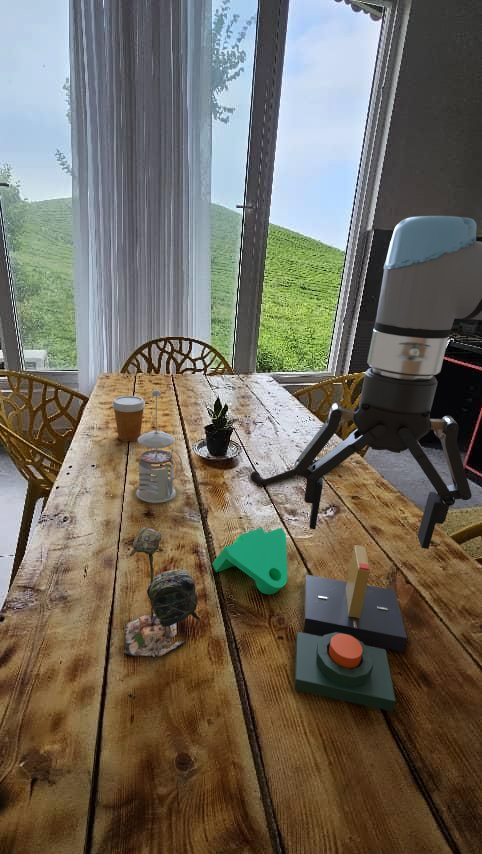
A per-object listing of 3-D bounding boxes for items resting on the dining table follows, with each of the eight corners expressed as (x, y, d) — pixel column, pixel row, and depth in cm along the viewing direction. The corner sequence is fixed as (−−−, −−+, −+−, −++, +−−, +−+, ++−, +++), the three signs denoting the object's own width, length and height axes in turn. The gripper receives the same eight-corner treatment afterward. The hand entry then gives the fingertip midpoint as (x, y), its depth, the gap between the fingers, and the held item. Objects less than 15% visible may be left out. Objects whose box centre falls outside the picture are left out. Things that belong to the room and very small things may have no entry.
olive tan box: (345, 589, 71) (354, 543, 67) (355, 591, 70) (365, 545, 67) (348, 616, 65) (358, 568, 62) (359, 618, 65) (370, 570, 62)
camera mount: (207, 560, 79) (234, 616, 74) (222, 540, 73) (251, 599, 68) (261, 541, 84) (289, 592, 79) (278, 522, 79) (309, 575, 74)
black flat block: (391, 604, 72) (395, 588, 71) (402, 654, 63) (407, 637, 62) (303, 588, 75) (306, 573, 74) (302, 634, 66) (305, 617, 65)
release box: (382, 660, 62) (388, 639, 60) (392, 713, 55) (399, 690, 53) (295, 643, 64) (298, 621, 63) (293, 691, 57) (297, 668, 55)
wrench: (248, 484, 112) (334, 455, 126) (260, 494, 108) (347, 463, 122) (249, 466, 110) (336, 439, 123) (261, 476, 106) (350, 447, 120)
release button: (358, 646, 59) (361, 636, 59) (361, 671, 56) (364, 661, 55) (328, 640, 60) (330, 630, 60) (329, 664, 57) (331, 654, 56)
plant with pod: (200, 662, 60) (207, 539, 53) (117, 659, 60) (112, 535, 53) (201, 617, 68) (207, 504, 61) (127, 614, 68) (124, 500, 60)
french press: (154, 480, 109) (154, 381, 100) (192, 495, 103) (195, 391, 93) (125, 495, 101) (122, 390, 92) (164, 512, 95) (166, 401, 86)
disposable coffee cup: (136, 446, 127) (136, 407, 123) (107, 441, 130) (105, 402, 126) (150, 435, 136) (150, 397, 131) (122, 430, 139) (121, 393, 134)
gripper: (286, 367, 48) (266, 531, 56) (543, 393, 43) (482, 569, 51) (290, 354, 55) (272, 502, 63) (513, 375, 50) (463, 533, 58)
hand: (366, 533), depth 57 cm, fingers open, 13 cm apart
